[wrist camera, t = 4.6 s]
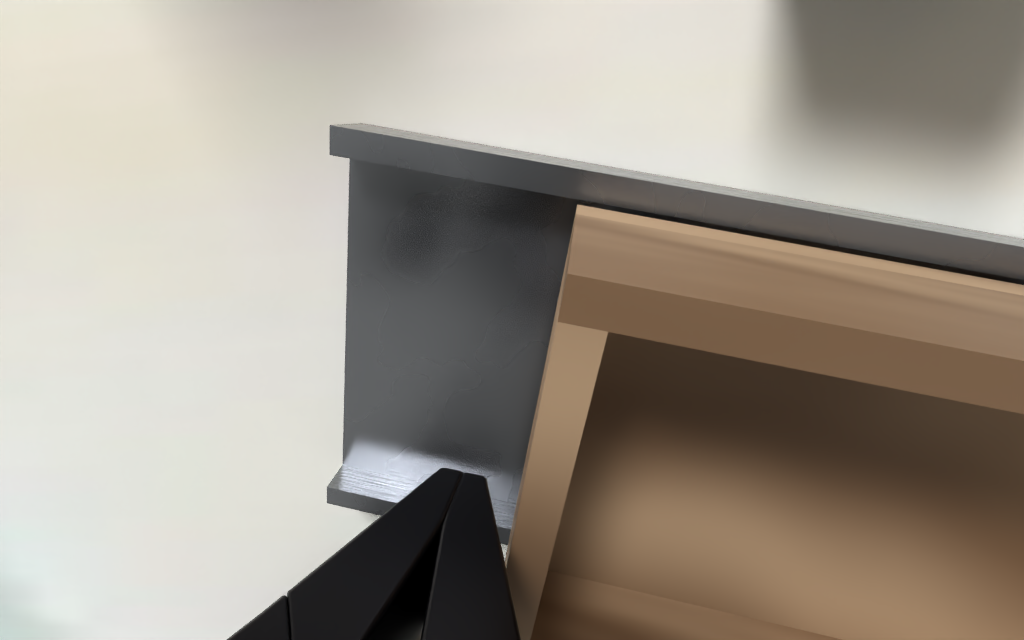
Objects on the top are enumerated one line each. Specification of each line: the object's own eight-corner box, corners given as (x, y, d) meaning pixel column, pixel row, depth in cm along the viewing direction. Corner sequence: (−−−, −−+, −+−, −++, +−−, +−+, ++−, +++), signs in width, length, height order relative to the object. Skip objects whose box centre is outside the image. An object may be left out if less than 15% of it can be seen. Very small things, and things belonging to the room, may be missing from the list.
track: (1041, 623, 15) (1091, 680, 13) (350, 467, 16) (326, 503, 15) (1323, 291, 11) (1442, 320, 9) (361, 123, 12) (330, 125, 11)
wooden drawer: (990, 621, 14) (1242, 943, 8) (514, 513, 15) (470, 742, 9) (1235, 312, 10) (1952, 539, 5) (578, 195, 11) (568, 273, 6)
